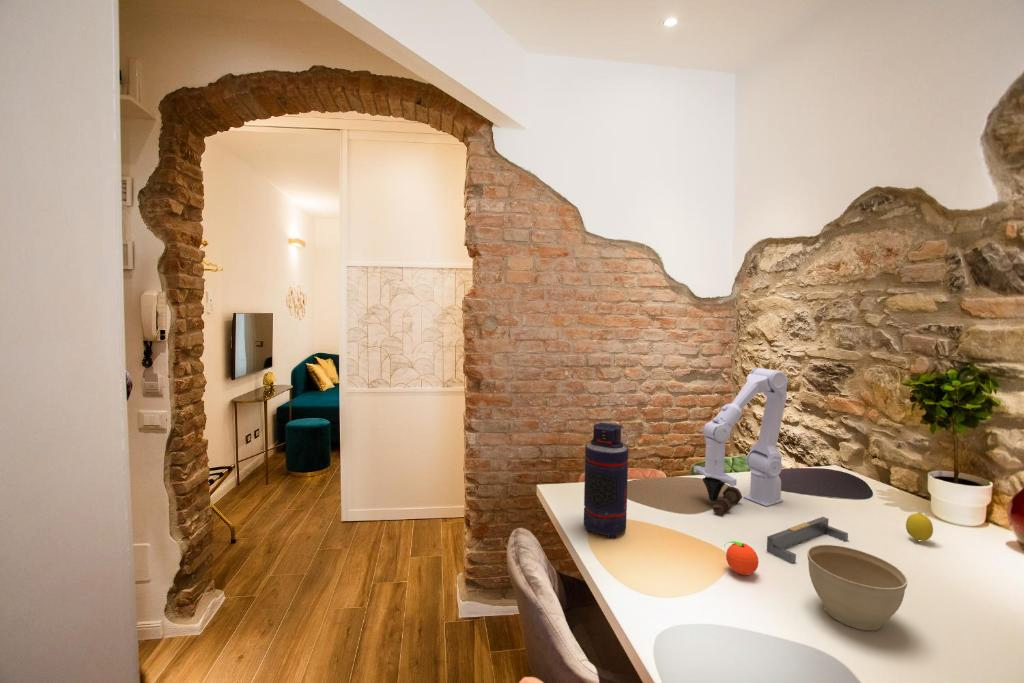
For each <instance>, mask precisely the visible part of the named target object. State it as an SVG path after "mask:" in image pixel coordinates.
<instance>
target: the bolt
mask: <svg viewBox="0 0 1024 683" xmlns="http://www.w3.org/2000/svg"><path fill="white" fill-rule="evenodd" d="M722 495H723V496H718V498H717V500H716V501H714V502H713V505H712V510H713V512H714V513H715V514H716V515H722V514H727V513H728V512H729V511H730V509H731V508H732V504H734V505H737V504H738V503H739V502H740V501H741V500H742V498H743V496H742V493H741V491H740V489H739V488H737V487H735V486H730V485H728V486H727V487H726V488H725V490H724V491H723V492H722Z"/></svg>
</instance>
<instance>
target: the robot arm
mask: <svg viewBox="0 0 1024 683" xmlns="http://www.w3.org/2000/svg"><path fill="white" fill-rule="evenodd" d="M788 382H789V378H788V376H787V375H786V374H785V372H783V371H782V370H779V369H778V370H776V369H768V368H763V367H754V368H752V370H751V371H750V373H749V374H748V375H747V376H746V383H744V385H743V387H742V388H741V390H740V391H739V392H738V393H737V395H736V397H734V399H733V401H732V402H731V403H726V404H725V405H723V406H722V407H721V410H720V411H719V412H718V414H716V416H715V417H714V418H713V419H712V420H711V421H708V422H706V423H705V425H704V426H703V428H702V429H701V431H702V432H701V433H702V435H703V437H704V442H705V457H704V458H705V461H704V467H703V466H700V465H695V466H693V473H697V474H701V475H703V476H705V477H702V482H703V484H704V486H705V488H706V491H707V495H708V498H709V501H710V502H713V503H714V502H715V501H716V500H717V498H718V497H719V495H720V493H721V490H722V489H723V487H724V486H725V484H727V485H729V486H730V487H735V486H737V483H738V482H737V479H736V478H734V477H732V476H731V475H728V474H727V473H725V462H726V461H725V458H726V441H728V440H729V439H730V437H731V432H732V430H733V427H734V426H735V425H736V423H738V420H740V419H741V418H742V415H743V411H742V410H743V409H744V408H745V406H747V405H748V403H749V402H750V401H751V400H753V399H754V397H755V396H756V395H757V394H759V393H763V394H764V395H765V397H766V400H765V405H764V410H763V415H762V419H761V420H762V421H761V425H760V429H759V433H758V434H759V435H758V438H757V439H758V440H757V442H756V443H755V444H753V445H751V446H750V450H749V452H748V454H747V455H746V458H745V463H746V465H747V467H748V468H749V471H750V485H749V486H750V487H749V488H750V489H749V490H750V491H749V494H747V495H744V496H743V498H745V499H747V500H748V501H752V502H754V503H757V504H760V505H762V506H765V507H768V506H771V505H775V504H778V503H781V502H784V499H782V494H781V493H782V480H781V477H780V476H779V475H780V474H781V472H782V470H783V465H782V464H783V463H782V457H783V455H782V453H781V452H780V451H779V450H778V447H777V445H778V440H779V436H780V435H779V434H780V430H781V427H782V426H781V425H782V420H783V416H784V412H785V406H786V402H787V396H788V393H787V388H788V384H789V383H788Z"/></svg>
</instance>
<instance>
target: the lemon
mask: <svg viewBox="0 0 1024 683" xmlns="http://www.w3.org/2000/svg"><path fill="white" fill-rule="evenodd" d="M905 529H906V532H907V534H908V535H909V536H910V537H912V538H913V539H915V540H916V539H917V540H922V541H928V540H929V539H930V538H931V537H932V536H933V533H934V528H933V523H932V521H931V519H929V517H927V516H926V515H924V514H923V513H921V512H917V513H913V514H910V515H909V516H908V517H907V519H906V522H905ZM917 540H916V541H917Z"/></svg>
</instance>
